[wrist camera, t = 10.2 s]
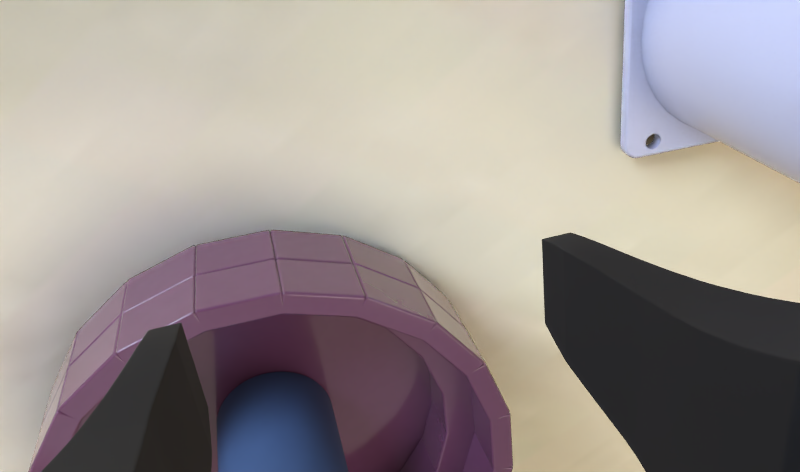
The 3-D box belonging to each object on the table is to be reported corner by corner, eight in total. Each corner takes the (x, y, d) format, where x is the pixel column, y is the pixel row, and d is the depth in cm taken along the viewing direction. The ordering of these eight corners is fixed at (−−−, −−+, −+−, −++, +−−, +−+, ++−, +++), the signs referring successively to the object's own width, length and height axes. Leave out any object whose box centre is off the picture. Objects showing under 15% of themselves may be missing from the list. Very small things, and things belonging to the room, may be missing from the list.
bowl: (453, 182, 24) (502, 243, 20) (479, 497, 31) (520, 589, 27) (-13, 277, 22) (-60, 367, 18) (125, 595, 28) (113, 711, 25)
